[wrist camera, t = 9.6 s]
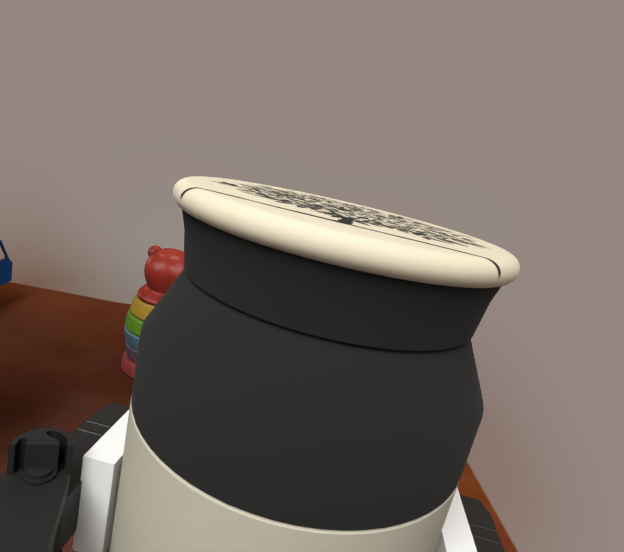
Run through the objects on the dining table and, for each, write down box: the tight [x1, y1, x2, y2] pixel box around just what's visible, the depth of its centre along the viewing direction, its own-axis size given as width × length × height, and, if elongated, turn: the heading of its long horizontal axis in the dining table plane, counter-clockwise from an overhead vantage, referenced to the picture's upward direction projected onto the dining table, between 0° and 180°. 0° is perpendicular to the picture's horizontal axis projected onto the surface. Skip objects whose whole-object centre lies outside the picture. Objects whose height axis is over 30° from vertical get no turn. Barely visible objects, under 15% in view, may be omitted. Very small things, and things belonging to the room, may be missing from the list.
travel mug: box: [109, 176, 520, 552], centre depth 12 cm, size 8×8×18 cm
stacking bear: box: [121, 246, 184, 379], centre depth 62 cm, size 11×10×18 cm
